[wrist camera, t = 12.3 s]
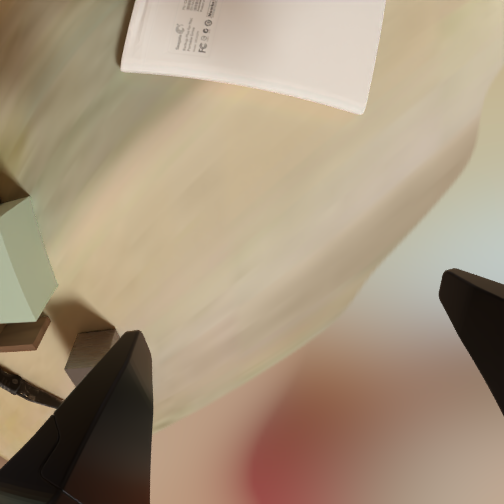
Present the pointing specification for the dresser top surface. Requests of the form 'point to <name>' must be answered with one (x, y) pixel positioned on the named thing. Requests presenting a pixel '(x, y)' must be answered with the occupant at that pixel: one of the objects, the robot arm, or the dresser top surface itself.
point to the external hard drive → (262, 45)
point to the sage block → (23, 264)
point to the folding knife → (27, 390)
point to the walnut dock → (22, 335)
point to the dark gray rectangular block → (89, 352)
